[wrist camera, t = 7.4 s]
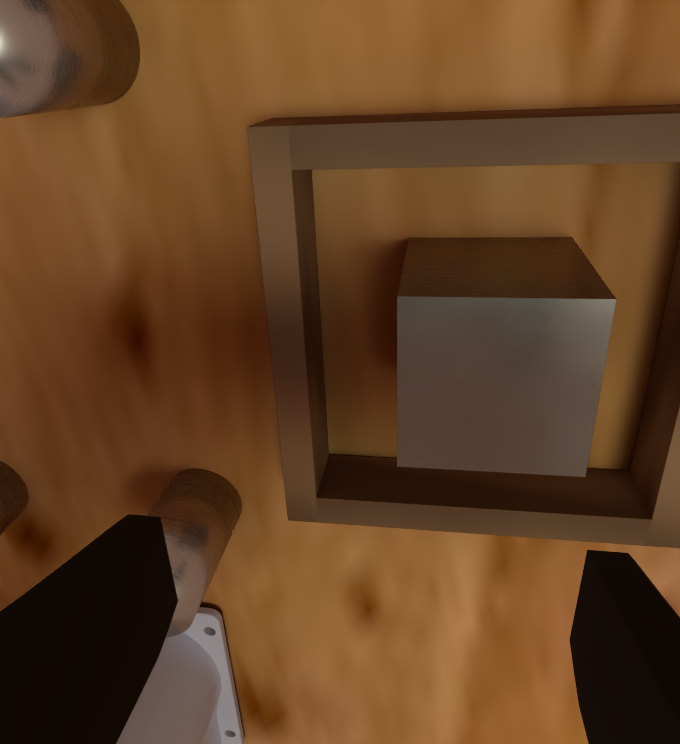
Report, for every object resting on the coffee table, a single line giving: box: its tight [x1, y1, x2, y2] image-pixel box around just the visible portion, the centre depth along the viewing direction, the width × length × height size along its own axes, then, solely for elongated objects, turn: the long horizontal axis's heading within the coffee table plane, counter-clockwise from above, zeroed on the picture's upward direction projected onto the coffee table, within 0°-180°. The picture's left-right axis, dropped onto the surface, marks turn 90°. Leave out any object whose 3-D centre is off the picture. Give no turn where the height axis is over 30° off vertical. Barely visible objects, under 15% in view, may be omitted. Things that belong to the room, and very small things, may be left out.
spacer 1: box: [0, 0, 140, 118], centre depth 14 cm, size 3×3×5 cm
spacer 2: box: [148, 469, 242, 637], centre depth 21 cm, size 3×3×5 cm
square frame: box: [247, 105, 680, 548], centre depth 17 cm, size 12×12×2 cm
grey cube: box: [397, 237, 616, 477], centre depth 16 cm, size 4×4×5 cm
